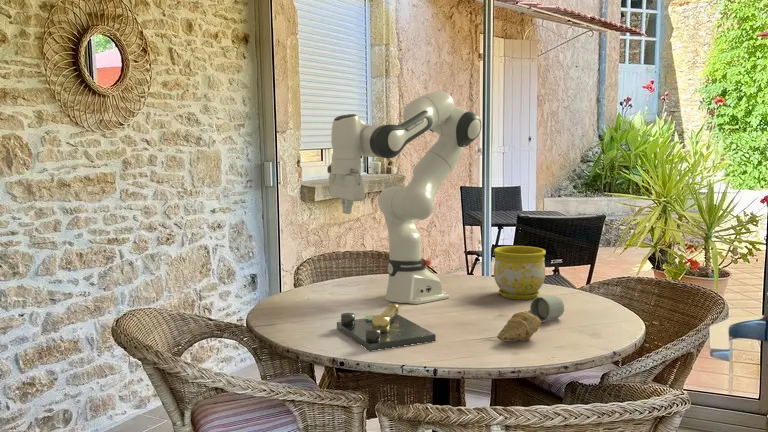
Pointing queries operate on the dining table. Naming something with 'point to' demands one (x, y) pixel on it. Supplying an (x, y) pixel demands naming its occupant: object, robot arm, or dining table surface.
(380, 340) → the base
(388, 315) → the lever
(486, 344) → the dining table surface
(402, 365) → the dining table surface
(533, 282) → the flowerpot
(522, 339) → the seashell
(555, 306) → the ceramic mug
